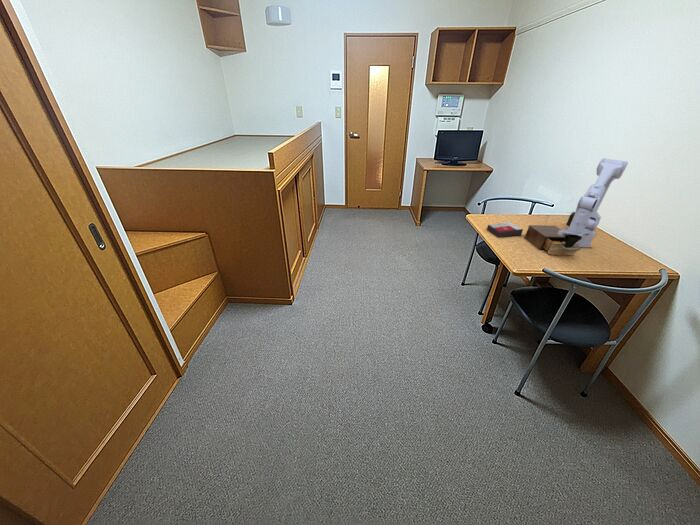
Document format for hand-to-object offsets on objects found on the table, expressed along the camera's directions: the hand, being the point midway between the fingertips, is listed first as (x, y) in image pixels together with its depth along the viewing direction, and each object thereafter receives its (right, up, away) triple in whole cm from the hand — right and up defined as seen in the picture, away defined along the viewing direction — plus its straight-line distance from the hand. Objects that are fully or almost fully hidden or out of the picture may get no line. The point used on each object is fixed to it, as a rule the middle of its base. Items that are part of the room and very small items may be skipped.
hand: (567, 248), depth 142 cm
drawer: (0, 0, +7) cm, 7 cm away
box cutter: (0, +1, +7) cm, 7 cm away
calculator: (-17, +10, +27) cm, 33 cm away
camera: (+31, +12, +33) cm, 47 cm away
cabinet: (-1, +3, +15) cm, 15 cm away
